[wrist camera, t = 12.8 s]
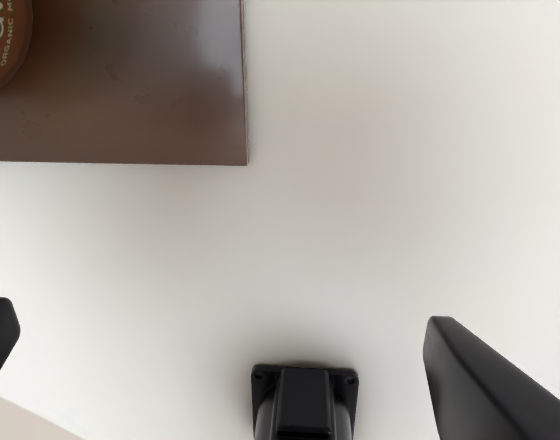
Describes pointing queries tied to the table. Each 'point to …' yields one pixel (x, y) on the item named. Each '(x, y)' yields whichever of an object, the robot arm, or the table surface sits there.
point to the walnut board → (129, 84)
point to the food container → (14, 36)
